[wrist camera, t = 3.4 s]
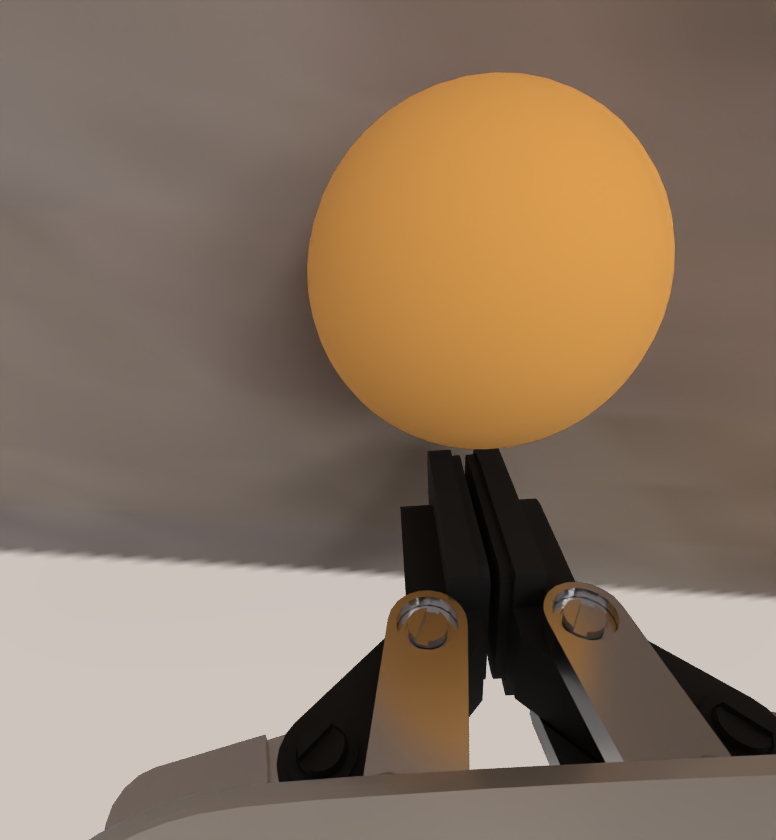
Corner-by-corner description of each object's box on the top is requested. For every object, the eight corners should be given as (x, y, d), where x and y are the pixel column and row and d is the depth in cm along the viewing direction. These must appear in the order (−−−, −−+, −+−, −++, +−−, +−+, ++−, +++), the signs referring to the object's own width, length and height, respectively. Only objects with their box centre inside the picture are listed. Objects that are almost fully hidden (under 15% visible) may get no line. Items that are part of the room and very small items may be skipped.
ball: (609, 85, 9) (870, 16, 4) (568, 364, 12) (702, 515, 7) (309, 100, 9) (232, 49, 4) (337, 374, 12) (309, 533, 7)
